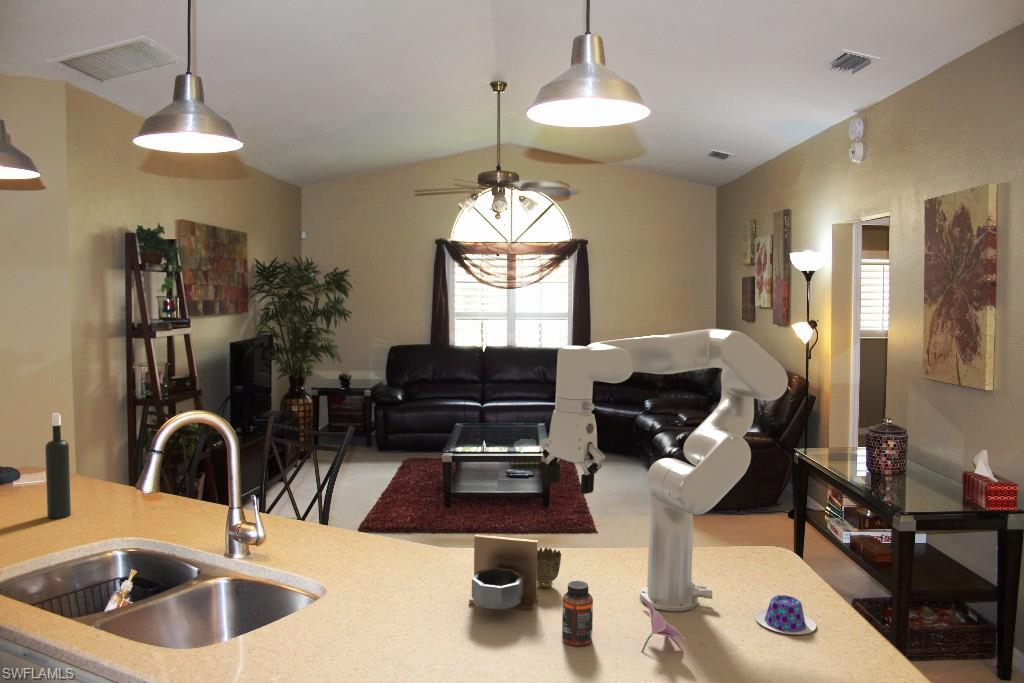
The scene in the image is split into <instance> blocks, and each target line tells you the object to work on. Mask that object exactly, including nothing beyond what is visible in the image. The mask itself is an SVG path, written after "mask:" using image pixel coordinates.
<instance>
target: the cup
mask: <svg viewBox="0 0 1024 683" xmlns="http://www.w3.org/2000/svg"><path fill="white" fill-rule="evenodd" d="M561 560H562V553H561V550H558V551H557V549H556V548H555V549H554V550H552V548H551V547H549V548H547V547H545V548H544V549H543V548H542V547H540V548H538V568H537V588H540V589H545V590H546V589H550V588H552V586H553V585H554V584H553V581H554V580H556V579H557V578H558V577H559V576H558V575H559V572H560V567H561Z"/></svg>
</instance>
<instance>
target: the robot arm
mask: <svg viewBox="0 0 1024 683" xmlns="http://www.w3.org/2000/svg"><path fill="white" fill-rule="evenodd" d="M710 368H718V369H722V371H721V375H720V381H721V382H720V383H721V397H720V400H719V403H718V405H717V406H716V407H715V408H714V409H713V411H712V413H710V414H709V415H708V416H707V417H706V418H705V419H704V420H703V421H702V422H701V423H700V425H698V427H697V428H695V429H694V430H693V431H692V432H691V433H690V434H689V436H688V437H687V438H686V440H685V442H684V444H683V455H684V457H685V458H686V460H687V461H689V463H691V464H689V463H686V462H685V461H682V460H679V459H677V458H671V457H665V458H661V459H658V460H656V461H655V462H653V463H652V464H651V466H650V467H649V470H648V472H647V474H646V484H645V485H646V494H647V498H648V507H649V508H648V509H649V521H648V522H649V524H648V525H649V526H648V548H647V549H648V552H647V554H648V555H647V576H646V577H647V579H646V580H647V582H646V583H647V584H646V586H644V587H643V588H641V589H640V591H639V593H640V594H641V595H642V596H644V597H645V598H646V599H647V600H648V601H649V602H650V603H651V605H652V606H653V607H654V609H655V610H660V611H666V612H685V611H689V610H692V609H694V608H696V607H697V605H698V602H699V600H698V599H699V598H703V599H711V600H712V599H713V589H710V588H707V585H702V584H701V585H697V584H696V583H694V582H693V579H694V578H693V577H692V574H693V573H692V571H693V568H692V567H693V544H694V542H693V541H694V515H695V516H698V515H703V514H705V513H708V511H710V510H711V509H713V508H714V507H715V506H716V505H717V504H718V503H719V502H720V501H721V500H722V498H724V497H725V495H727V494H728V493H729V492H730V491H731V489H733V488H734V487H735V485H736V484H737V483H738V482H739V481H740V480H741V479H742V477H744V475H745V474H746V472H747V470H748V468H749V466H750V464H751V459H752V452H751V448H750V444H748V442H747V441H746V440H745V439H744V437H745V436H746V434H747V433H748V432H749V430H750V429H751V427H752V425H753V422H754V419H755V416H754V415H755V399H756V400H761V401H764V402H770V401H771V402H772V401H775V400H778V399H780V398H781V397H783V395H784V394H785V392H786V391H787V389H788V385H789V380H788V379H789V378H788V375H787V371H786V370H785V368H784V367H783V366H782V365H781V364H780V363H779V362H778V360H776V359H775V358H774V357H773V356H771V354H769V353H768V352H767V351H766V350H765V349H764V348H763V347H761V346H760V345H759V344H758V343H757V342H756V341H755V340H753V339H752V338H750V337H749V336H748V335H747V334H745V333H743V332H741V331H738V330H730V329H722V328H707V329H706V328H705V329H699V330H692V331H686V332H685V331H683V332H677V333H671V334H669V333H668V334H662V335H661V334H660V335H650V336H641V337H631V338H630V337H629V338H622V339H621V338H620V339H611V340H606V341H604V340H603V341H598V342H593V343H590V344H588V345H586V346H584V345H564V346H561V347H559V349H558V350H557V362H556V384H555V401H554V403H555V405H554V406H555V407H554V410H553V412H552V416H551V421H550V426H549V436H548V437H546V438H544V439H542V440H540V443H539V444H540V446H541V450H542V451H541V453H542V456H543V457H544V459H545V460H544V461H545V462H544V463H545V464H546V465H547V470H546V484H550V485H551V484H555V483H558V482H560V473H561V471H560V470H561V464H560V462H559V461H560V460H563V461H566V462H568V463H569V462H570V463H573V464H577V465H580V468H581V470H582V472H583V474H581V476H580V477H581V480H580V494H581V495H587V494H592V493H594V486H595V474H597V473H598V471H599V470H600V469H601V468H602V465H603V463H604V461H605V460H606V455H605V454H604V452H602V451H601V450H600V449H599V448H598V433H597V431H598V430H597V422H596V417H595V414H594V413H592V411H594V410H595V404H594V403H593V389H594V388H593V387H594V382H601V383H602V382H604V383H610V384H618V383H623V382H625V381H626V380H628V379H629V378H630V377H631V375H633V373H645V374H646V373H647V374H648V373H649V374H655V375H671V374H672V375H673V374H678V373H684V372H690V371H697V370H704V369H705V370H706V369H710ZM640 594H639V599H640V601H642V603H643V604H645V605H646V606H647V604H646V602H645V601H644V599H643V598H642V597H641V595H640Z"/></svg>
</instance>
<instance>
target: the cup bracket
mask: <svg viewBox="0 0 1024 683" xmlns="http://www.w3.org/2000/svg"><path fill="white" fill-rule="evenodd" d="M473 538H474V540H473V542H474V543H473V545H474V549H473V551H474V553H473V554H474V557H473V576H472V577H471V596H470V597H469V598H468V605H469V606H476V607H478V608H479V609H483V610H486V611H492V612H493V611H494V612H503V611H509V610H510V611H511V610H512V611H520V612H529V613H533V612H534V609H535V608H536V606H537V603H538V600H539V595H538V586H537V568H538V550H539V540H537V539H527V538H515V537H509V536H508V537H507V536H505V537H504V536H496V535H486V534H485V535H484V534H475V535H474V537H473Z"/></svg>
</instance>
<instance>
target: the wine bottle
mask: <svg viewBox="0 0 1024 683" xmlns="http://www.w3.org/2000/svg"><path fill="white" fill-rule="evenodd" d="M61 418H62V416H61V414H60V412H55V413H54V412H53V413H52V415H51V426H52V440H50V441H48V442H47V443H46V444H45V448H44V449H45V450H44V451H45V475H46V476H45V477H46V478H45V481H46V482H45V483H46V507H47V510H46V512H47V519H49V520H61V519H65V518H68V517H70V516H71V515H72V514H71V512H72V511H71V508H72V507H71V478H70V446H69V442H67V441H66V440H64V439H62V436H61V435H62V434H61V432H62V431H61V430H62V429H61V428H62V426H61V424H62V422H61V421H62V419H61Z"/></svg>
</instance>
